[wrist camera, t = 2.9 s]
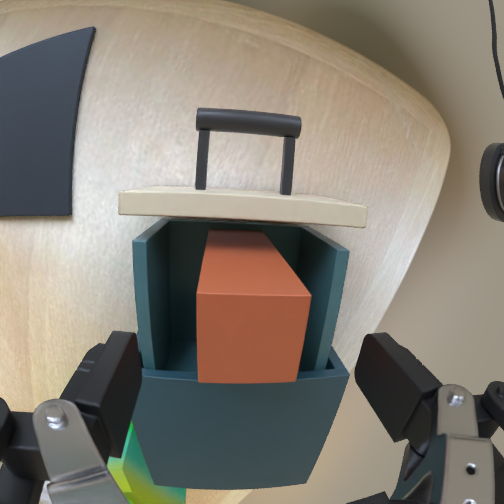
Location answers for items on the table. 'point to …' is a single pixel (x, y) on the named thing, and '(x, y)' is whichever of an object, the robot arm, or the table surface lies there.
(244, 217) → the drawer
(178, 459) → the cabinet
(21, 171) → the mat
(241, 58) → the table surface
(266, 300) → the block
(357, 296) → the table surface
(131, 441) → the cubic fruit with leaf
